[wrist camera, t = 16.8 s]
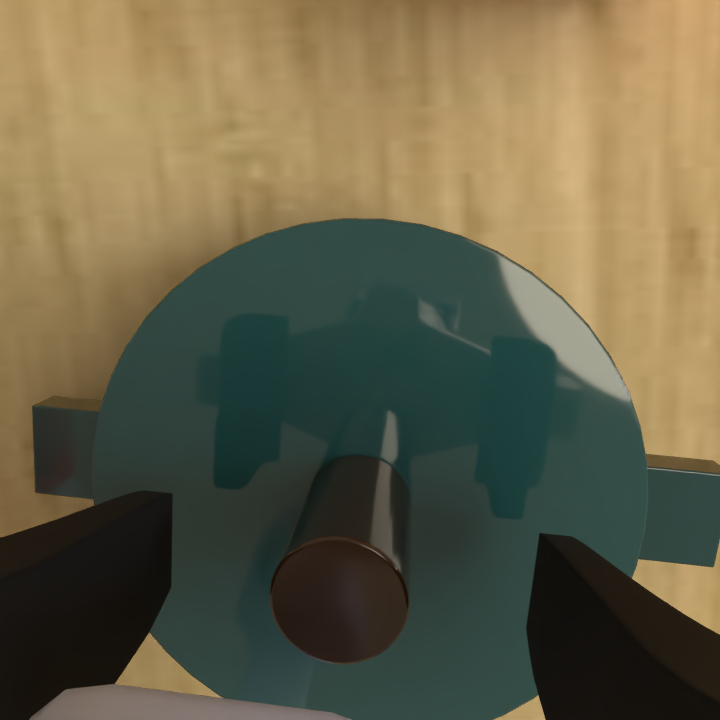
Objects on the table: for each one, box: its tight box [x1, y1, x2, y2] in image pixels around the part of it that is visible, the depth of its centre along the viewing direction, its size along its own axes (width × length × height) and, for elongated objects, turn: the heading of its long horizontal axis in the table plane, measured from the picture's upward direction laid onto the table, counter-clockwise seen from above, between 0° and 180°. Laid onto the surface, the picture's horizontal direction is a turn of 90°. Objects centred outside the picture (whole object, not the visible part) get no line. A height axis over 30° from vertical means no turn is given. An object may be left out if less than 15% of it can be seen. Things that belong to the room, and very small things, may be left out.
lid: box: [92, 218, 649, 720], centre depth 13 cm, size 13×13×5 cm
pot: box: [32, 396, 720, 567], centre depth 18 cm, size 12×17×6 cm
